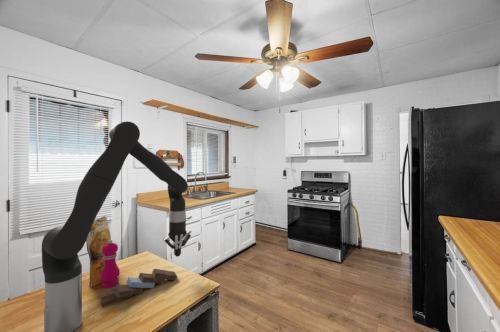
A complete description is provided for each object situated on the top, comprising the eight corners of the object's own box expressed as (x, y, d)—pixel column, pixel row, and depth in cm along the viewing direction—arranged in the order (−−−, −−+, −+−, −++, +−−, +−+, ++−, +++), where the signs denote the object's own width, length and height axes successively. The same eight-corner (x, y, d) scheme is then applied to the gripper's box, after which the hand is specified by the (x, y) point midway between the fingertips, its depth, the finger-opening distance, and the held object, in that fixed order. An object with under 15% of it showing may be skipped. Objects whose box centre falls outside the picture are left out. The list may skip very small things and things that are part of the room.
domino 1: (131, 297, 88) (102, 308, 81) (128, 292, 92) (100, 302, 85) (131, 293, 88) (102, 303, 81) (128, 287, 92) (100, 297, 85)
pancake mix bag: (78, 290, 92) (77, 225, 92) (105, 268, 111) (105, 214, 111) (94, 289, 93) (93, 224, 92) (119, 268, 112) (118, 214, 111)
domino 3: (153, 288, 94) (129, 287, 87) (148, 283, 97) (126, 282, 91) (154, 283, 94) (132, 281, 88) (150, 278, 98) (128, 277, 91)
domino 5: (175, 280, 100) (153, 277, 95) (172, 275, 104) (152, 272, 99) (177, 276, 100) (155, 273, 95) (174, 271, 104) (153, 268, 99)
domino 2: (141, 293, 90) (117, 297, 82) (134, 288, 93) (111, 291, 84) (142, 288, 90) (120, 291, 82) (136, 283, 93) (113, 286, 85)
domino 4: (163, 283, 97) (141, 282, 91) (159, 279, 101) (138, 277, 95) (165, 279, 98) (143, 277, 91) (161, 275, 101) (140, 272, 95)
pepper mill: (118, 286, 95) (117, 241, 95) (98, 290, 92) (98, 243, 92) (121, 278, 102) (120, 236, 101) (103, 281, 99) (102, 238, 99)
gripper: (187, 216, 110) (187, 250, 110) (160, 220, 101) (160, 256, 101) (194, 219, 104) (193, 255, 104) (166, 223, 95) (165, 262, 96)
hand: (177, 255), depth 103 cm, fingers closed
